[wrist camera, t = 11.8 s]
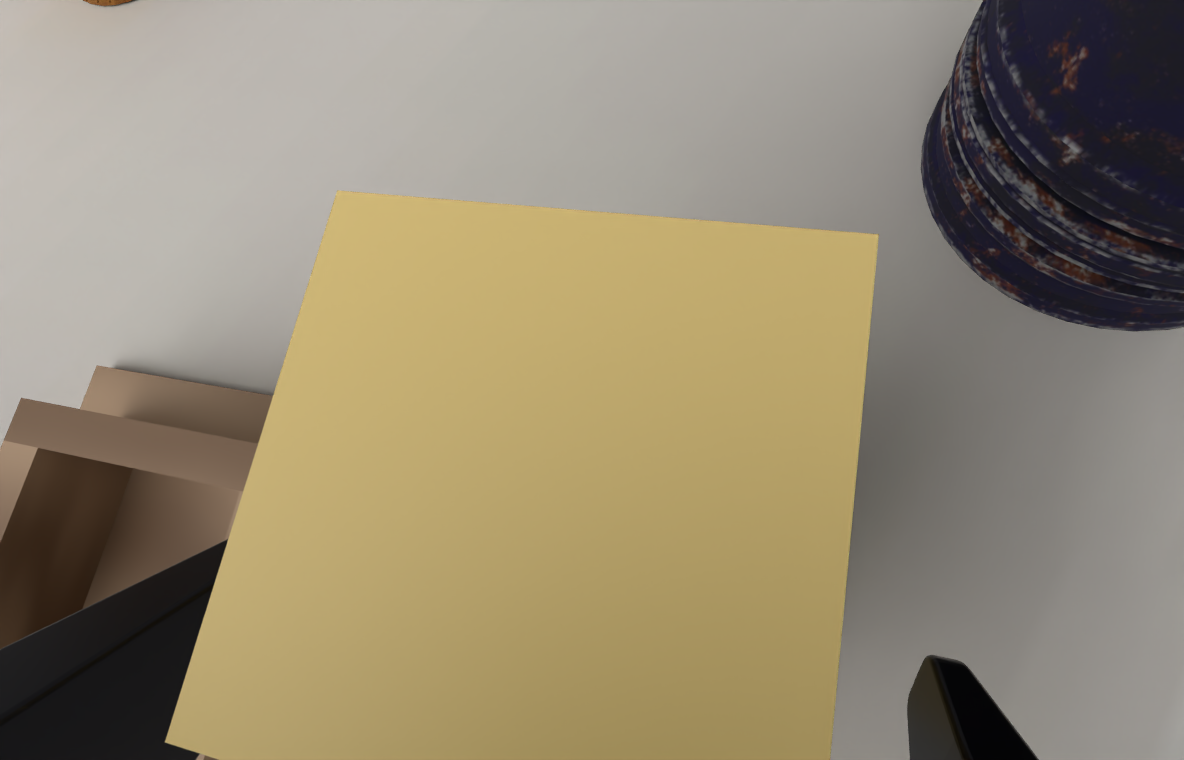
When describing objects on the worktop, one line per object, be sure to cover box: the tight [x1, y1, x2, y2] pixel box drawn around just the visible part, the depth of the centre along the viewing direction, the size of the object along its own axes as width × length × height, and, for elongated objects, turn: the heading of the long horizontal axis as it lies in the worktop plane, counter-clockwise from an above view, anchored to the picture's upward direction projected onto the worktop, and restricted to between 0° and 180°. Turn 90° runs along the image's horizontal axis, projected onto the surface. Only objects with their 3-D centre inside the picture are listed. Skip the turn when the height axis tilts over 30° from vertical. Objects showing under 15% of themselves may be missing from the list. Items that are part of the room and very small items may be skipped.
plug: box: [165, 191, 879, 760], centre depth 11 cm, size 5×5×12 cm
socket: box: [0, 366, 273, 760], centre depth 17 cm, size 12×12×4 cm
